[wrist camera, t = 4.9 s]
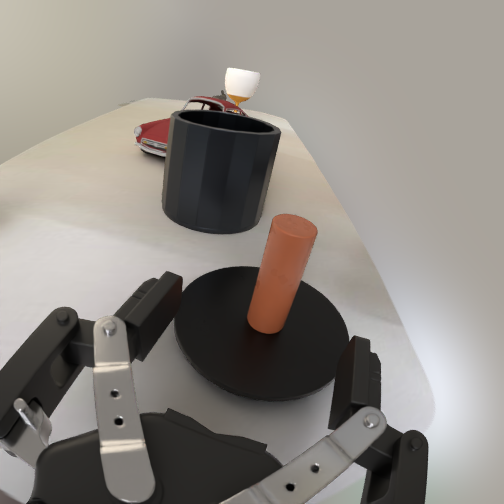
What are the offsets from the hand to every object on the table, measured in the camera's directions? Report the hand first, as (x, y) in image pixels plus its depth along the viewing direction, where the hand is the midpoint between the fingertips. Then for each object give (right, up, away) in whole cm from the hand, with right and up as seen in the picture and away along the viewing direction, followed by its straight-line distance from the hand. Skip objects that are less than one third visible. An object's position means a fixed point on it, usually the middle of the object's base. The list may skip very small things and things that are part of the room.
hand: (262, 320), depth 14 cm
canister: (-5, +8, +23) cm, 25 cm away
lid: (0, -2, +8) cm, 8 cm away
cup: (-6, +36, +66) cm, 75 cm away
